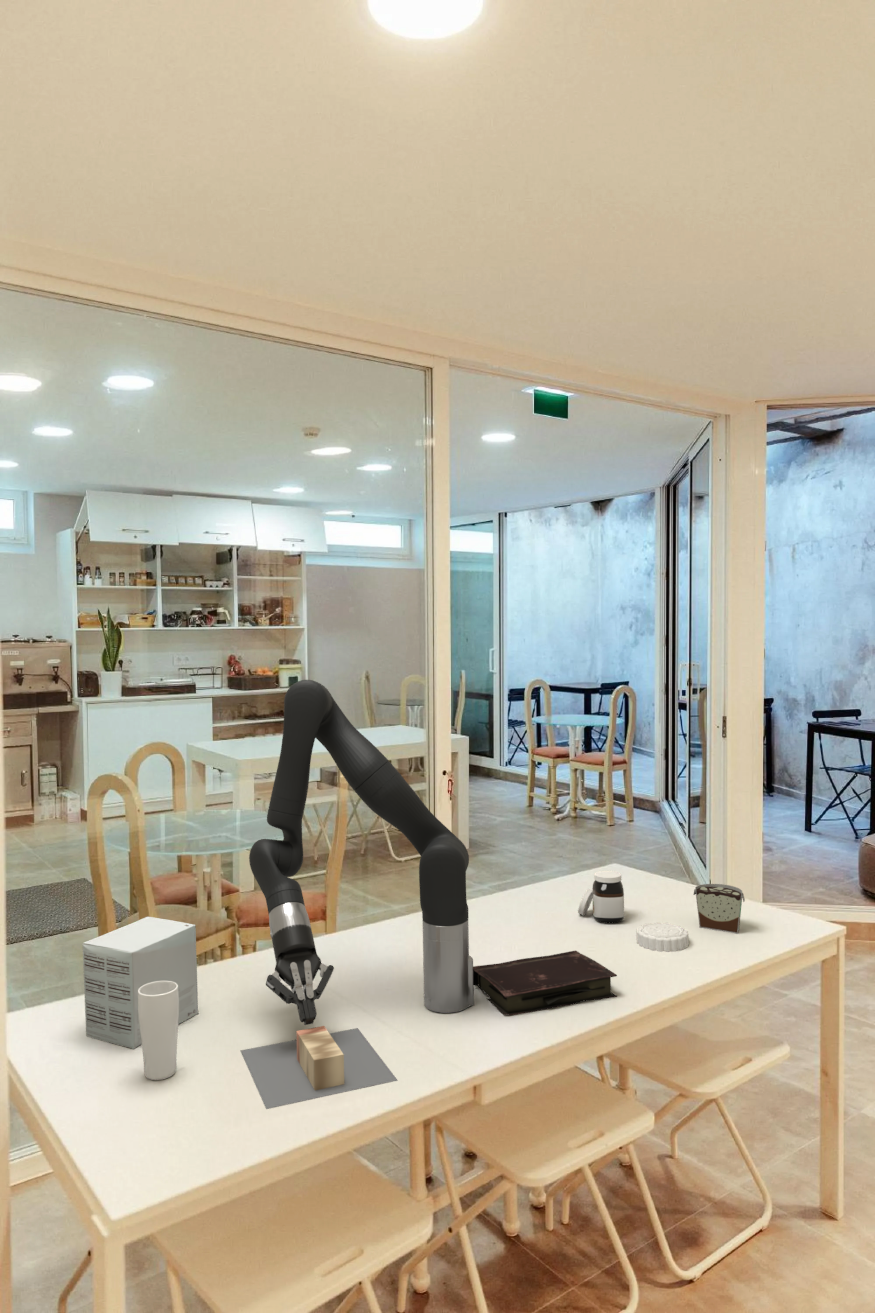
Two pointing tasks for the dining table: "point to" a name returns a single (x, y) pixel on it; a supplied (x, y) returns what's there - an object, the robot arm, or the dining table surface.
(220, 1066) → the dining table surface
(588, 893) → the spread jar
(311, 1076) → the oak block
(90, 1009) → the supplement box
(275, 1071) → the rubber mat
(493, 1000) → the diary
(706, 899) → the food container
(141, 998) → the drinking glass
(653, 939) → the mooncake
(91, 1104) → the dining table surface
